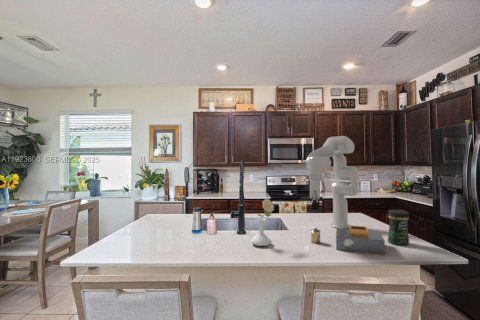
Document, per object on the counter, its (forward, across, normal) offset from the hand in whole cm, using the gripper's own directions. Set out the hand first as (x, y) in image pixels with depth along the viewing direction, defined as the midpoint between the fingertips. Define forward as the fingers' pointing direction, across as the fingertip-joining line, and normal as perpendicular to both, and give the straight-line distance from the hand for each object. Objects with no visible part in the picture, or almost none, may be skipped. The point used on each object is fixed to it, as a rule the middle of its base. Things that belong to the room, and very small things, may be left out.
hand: (315, 208), depth 144 cm
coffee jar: (+19, -14, +43) cm, 49 cm away
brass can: (+19, 0, 0) cm, 19 cm away
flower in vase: (+20, +14, -27) cm, 36 cm away
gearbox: (+19, 0, +22) cm, 29 cm away
